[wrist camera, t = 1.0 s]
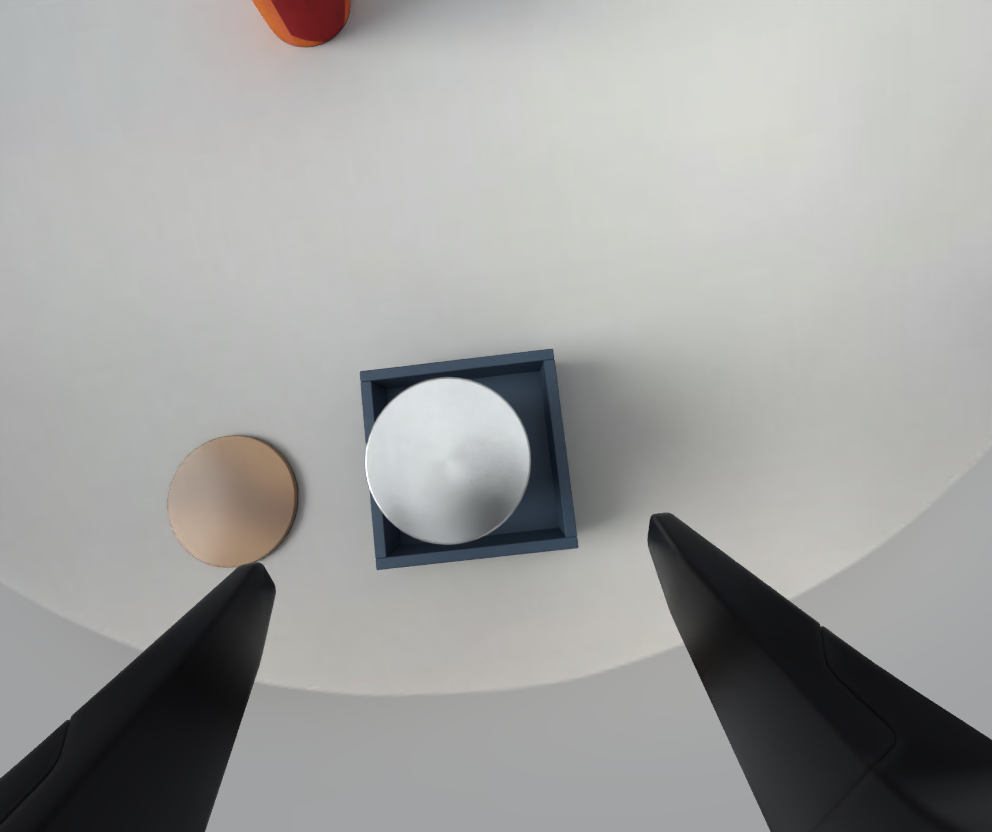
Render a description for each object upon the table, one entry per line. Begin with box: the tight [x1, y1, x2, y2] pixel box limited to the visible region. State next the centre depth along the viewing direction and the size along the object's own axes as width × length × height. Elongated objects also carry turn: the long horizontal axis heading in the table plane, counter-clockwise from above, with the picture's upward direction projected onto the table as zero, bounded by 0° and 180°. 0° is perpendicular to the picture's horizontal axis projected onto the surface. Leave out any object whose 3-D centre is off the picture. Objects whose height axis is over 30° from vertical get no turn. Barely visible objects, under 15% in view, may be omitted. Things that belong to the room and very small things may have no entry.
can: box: [365, 377, 531, 545], centre depth 20 cm, size 6×6×10 cm
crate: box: [360, 349, 578, 570], centre depth 24 cm, size 11×11×4 cm
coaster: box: [167, 436, 298, 567], centre depth 26 cm, size 8×8×1 cm
